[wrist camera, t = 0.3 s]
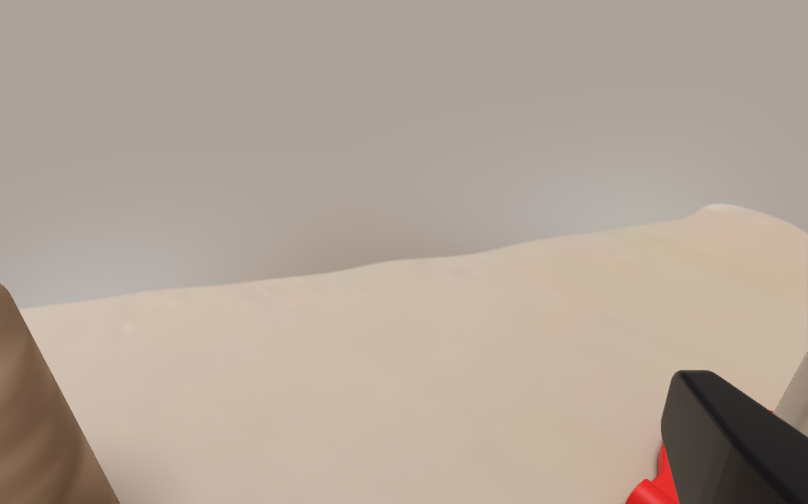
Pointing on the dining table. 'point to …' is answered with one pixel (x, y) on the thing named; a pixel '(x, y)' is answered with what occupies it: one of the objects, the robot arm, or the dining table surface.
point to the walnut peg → (40, 427)
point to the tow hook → (799, 407)
